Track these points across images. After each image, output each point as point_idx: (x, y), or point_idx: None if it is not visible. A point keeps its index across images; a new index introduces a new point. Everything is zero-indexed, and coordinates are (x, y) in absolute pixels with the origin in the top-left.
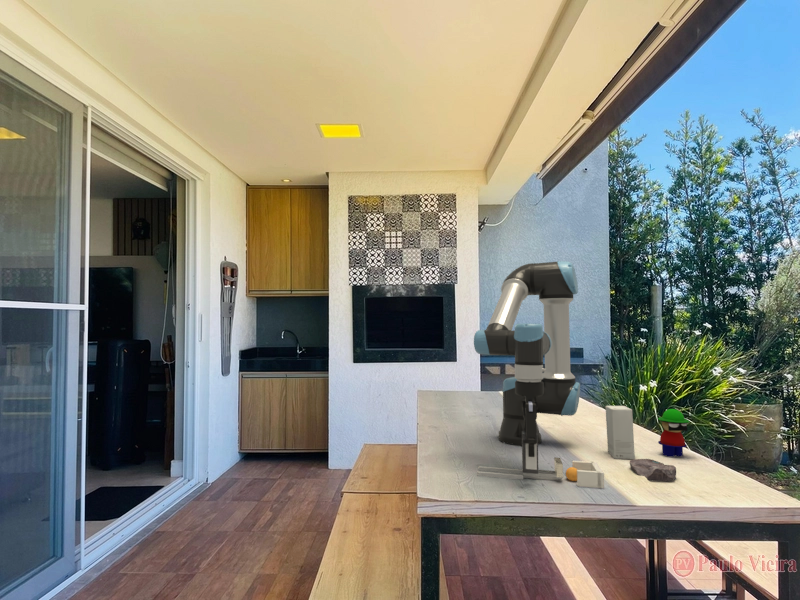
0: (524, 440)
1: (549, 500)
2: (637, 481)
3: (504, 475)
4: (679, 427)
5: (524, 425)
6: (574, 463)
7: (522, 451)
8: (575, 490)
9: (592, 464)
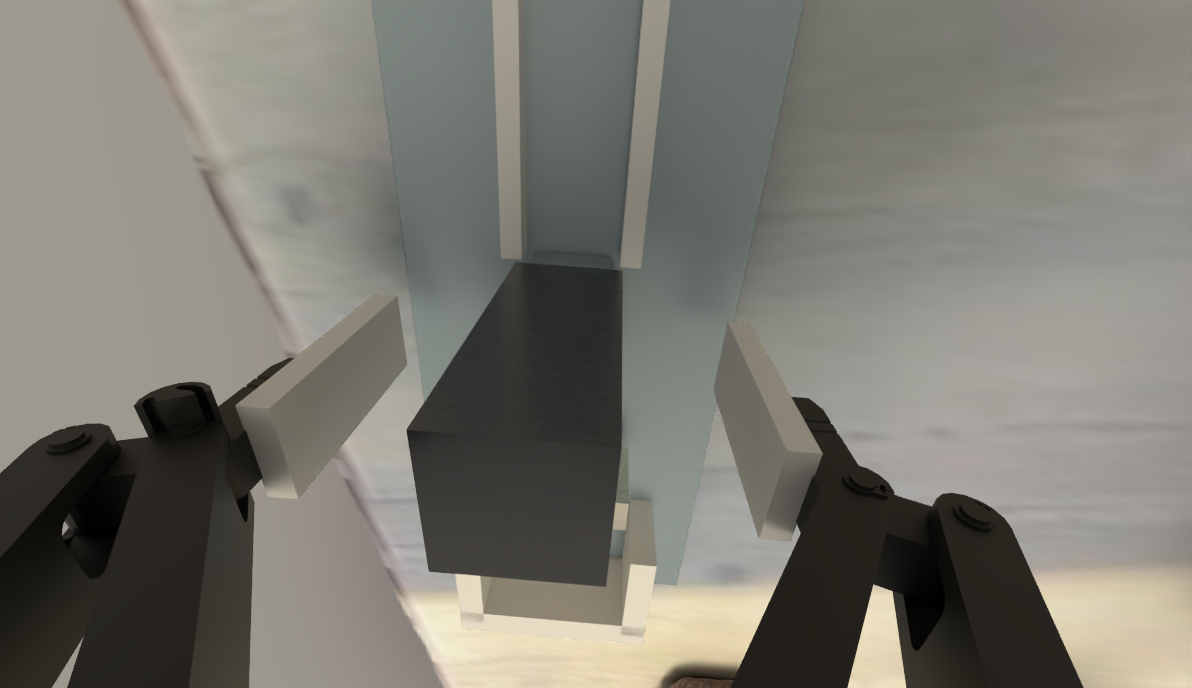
0: (142, 414)
1: (313, 342)
2: (658, 661)
3: (497, 120)
4: None
5: (849, 530)
6: (630, 561)
7: (474, 326)
8: None
9: (599, 623)
